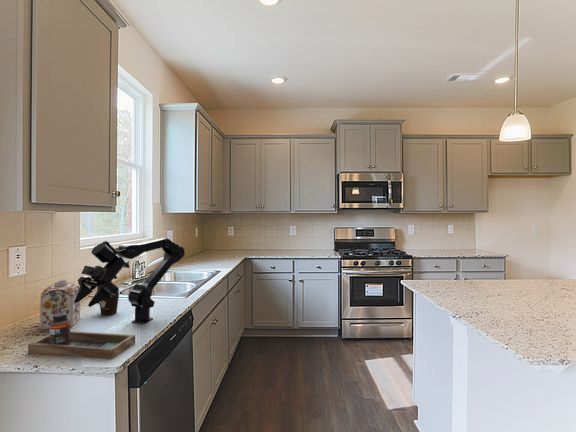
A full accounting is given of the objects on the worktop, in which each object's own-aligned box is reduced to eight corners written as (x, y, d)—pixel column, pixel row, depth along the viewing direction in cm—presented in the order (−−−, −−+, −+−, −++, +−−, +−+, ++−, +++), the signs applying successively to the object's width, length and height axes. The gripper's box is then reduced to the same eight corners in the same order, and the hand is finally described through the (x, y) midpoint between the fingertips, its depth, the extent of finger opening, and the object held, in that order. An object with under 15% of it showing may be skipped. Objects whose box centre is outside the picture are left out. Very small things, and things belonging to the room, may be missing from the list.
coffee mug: (122, 313, 155) (122, 292, 155) (102, 317, 148) (102, 295, 148) (112, 308, 163) (112, 288, 162) (93, 312, 156) (93, 290, 156)
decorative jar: (49, 320, 143) (49, 279, 143) (80, 318, 147) (80, 277, 147) (39, 330, 132) (39, 284, 132) (73, 327, 136) (73, 283, 136)
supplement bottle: (66, 341, 121) (67, 310, 121) (72, 346, 117) (73, 314, 117) (47, 346, 116) (47, 314, 116) (52, 351, 113) (53, 318, 112)
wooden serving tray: (59, 338, 124) (59, 330, 124) (135, 343, 120) (135, 335, 120) (28, 353, 111) (28, 344, 111) (111, 359, 107) (111, 349, 107)
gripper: (83, 255, 132) (51, 288, 123) (111, 259, 123) (79, 295, 113) (102, 272, 139) (74, 305, 129) (130, 277, 130) (102, 312, 120)
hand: (81, 304), depth 123 cm, fingers open, 9 cm apart
